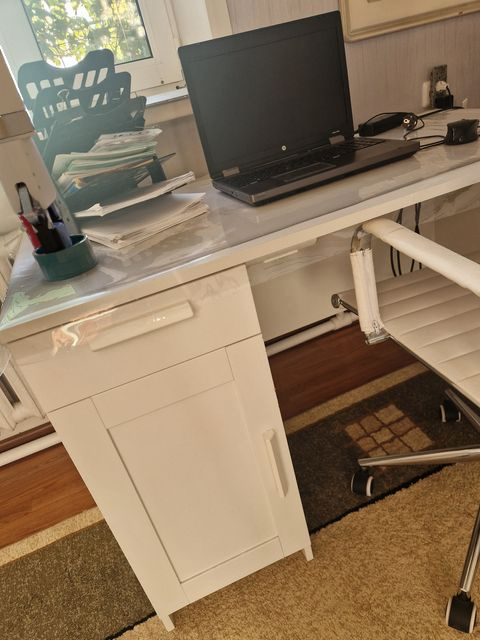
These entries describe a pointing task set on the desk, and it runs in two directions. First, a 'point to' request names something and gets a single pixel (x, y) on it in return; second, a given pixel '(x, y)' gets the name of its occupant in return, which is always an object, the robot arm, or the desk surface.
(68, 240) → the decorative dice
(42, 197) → the robot arm
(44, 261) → the bowl
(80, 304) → the desk surface
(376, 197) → the desk surface
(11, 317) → the desk surface
